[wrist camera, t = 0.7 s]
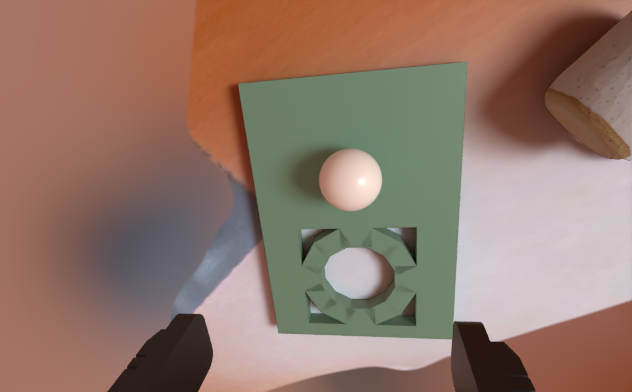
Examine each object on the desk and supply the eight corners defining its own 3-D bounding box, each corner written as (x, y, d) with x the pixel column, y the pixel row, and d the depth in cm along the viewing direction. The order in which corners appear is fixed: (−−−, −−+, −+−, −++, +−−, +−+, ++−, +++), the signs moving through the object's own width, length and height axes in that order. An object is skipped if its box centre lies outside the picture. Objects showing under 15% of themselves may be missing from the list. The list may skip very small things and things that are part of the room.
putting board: (244, 82, 30) (237, 83, 29) (462, 61, 27) (467, 61, 25) (281, 323, 39) (278, 333, 37) (449, 328, 36) (452, 339, 34)
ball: (320, 144, 29) (311, 159, 25) (380, 140, 28) (382, 155, 24) (325, 198, 31) (317, 222, 26) (382, 196, 30) (383, 220, 26)
